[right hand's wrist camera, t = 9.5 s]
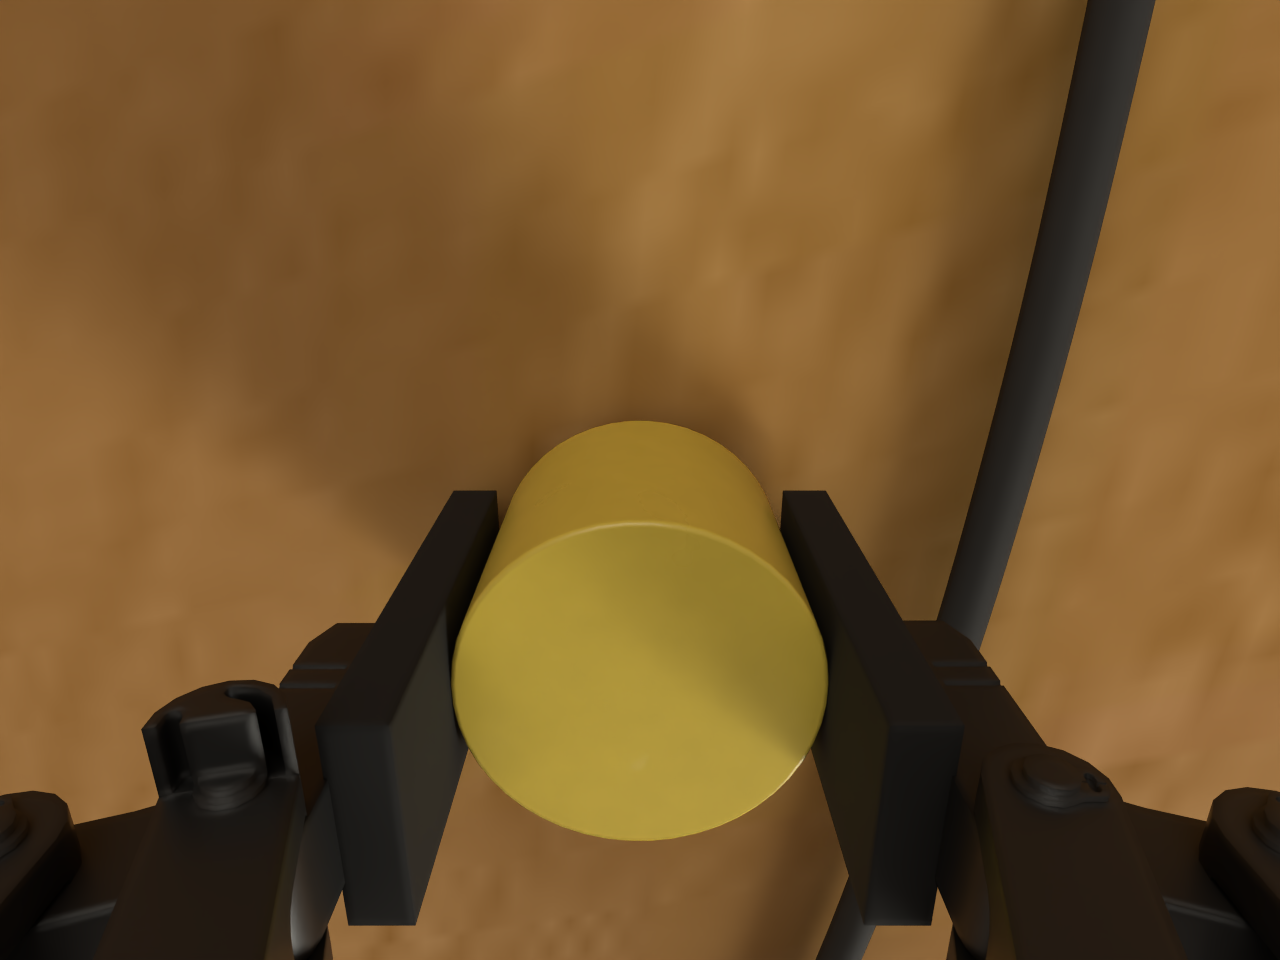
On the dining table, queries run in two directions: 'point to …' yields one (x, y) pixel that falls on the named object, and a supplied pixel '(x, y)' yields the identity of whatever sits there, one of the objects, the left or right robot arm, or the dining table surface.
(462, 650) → the cylinder
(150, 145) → the dining table surface
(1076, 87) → the right robot arm
